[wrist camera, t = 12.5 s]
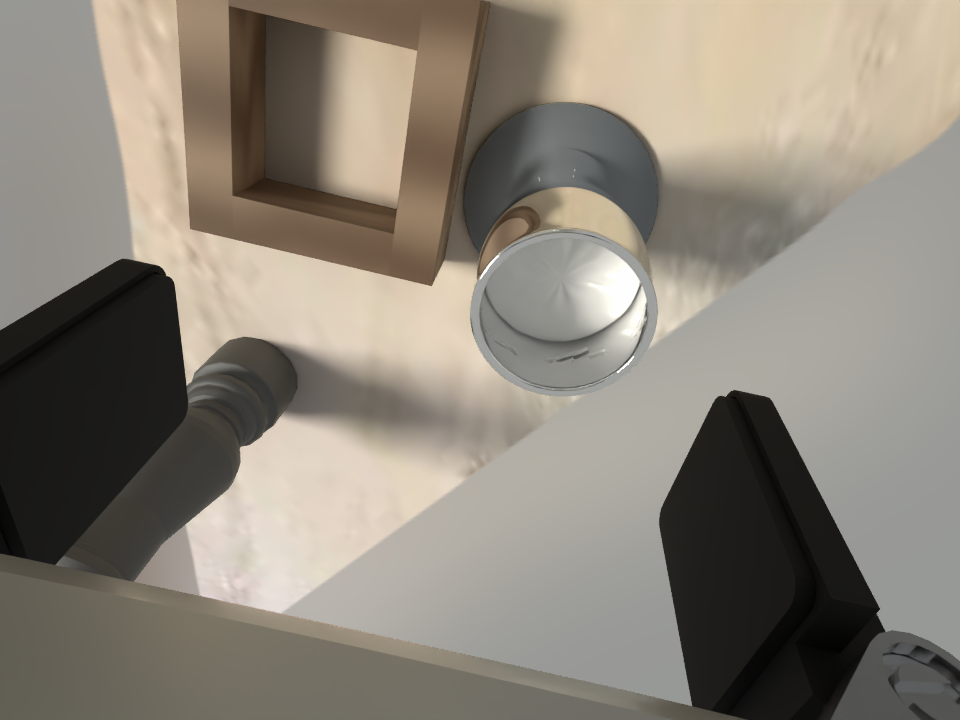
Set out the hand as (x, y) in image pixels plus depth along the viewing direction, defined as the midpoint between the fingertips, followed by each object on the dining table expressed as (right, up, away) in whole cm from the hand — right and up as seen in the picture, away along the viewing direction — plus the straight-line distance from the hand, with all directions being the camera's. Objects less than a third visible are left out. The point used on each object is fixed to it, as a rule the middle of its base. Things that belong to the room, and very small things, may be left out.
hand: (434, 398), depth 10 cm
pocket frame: (-7, +14, +23) cm, 28 cm away
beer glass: (+5, +10, +23) cm, 26 cm away
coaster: (+5, +10, +24) cm, 26 cm away
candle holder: (-16, 0, +33) cm, 36 cm away
